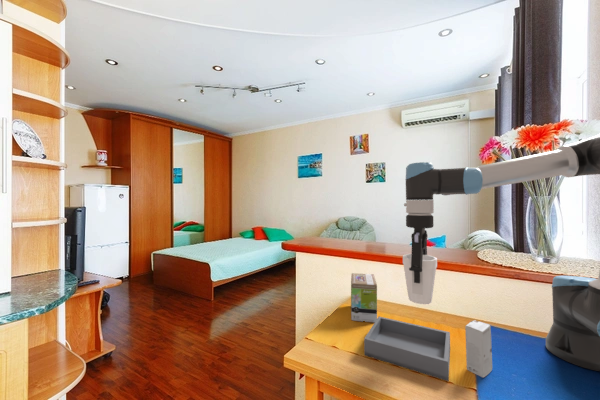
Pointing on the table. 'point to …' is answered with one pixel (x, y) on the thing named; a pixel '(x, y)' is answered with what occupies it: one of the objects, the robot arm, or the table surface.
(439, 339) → the tote
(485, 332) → the skincare box
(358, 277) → the tea box
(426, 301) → the foam cup
